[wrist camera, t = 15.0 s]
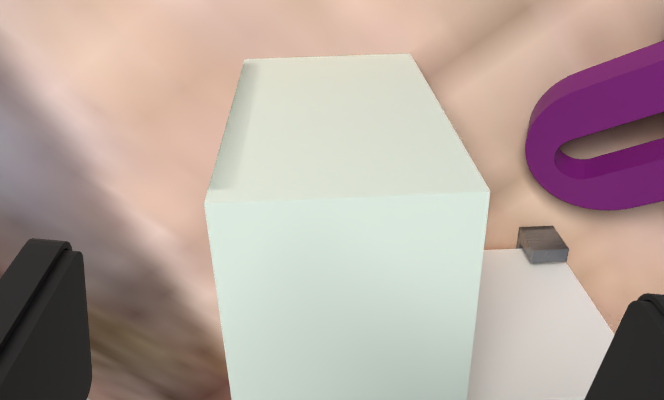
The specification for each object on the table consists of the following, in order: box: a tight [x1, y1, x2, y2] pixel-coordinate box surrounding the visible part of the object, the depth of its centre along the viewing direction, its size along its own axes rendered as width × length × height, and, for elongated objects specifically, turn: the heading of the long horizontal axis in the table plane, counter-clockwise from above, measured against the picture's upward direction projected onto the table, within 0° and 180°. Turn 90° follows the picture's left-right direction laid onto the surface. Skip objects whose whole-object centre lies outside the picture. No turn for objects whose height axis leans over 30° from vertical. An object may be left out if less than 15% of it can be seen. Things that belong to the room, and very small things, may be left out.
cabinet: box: [204, 53, 490, 400], centre depth 33 cm, size 10×14×18 cm
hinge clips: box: [516, 226, 569, 263], centre depth 43 cm, size 9×5×4 cm, turn 91°
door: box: [467, 248, 614, 400], centre depth 39 cm, size 10×3×14 cm, turn 91°
